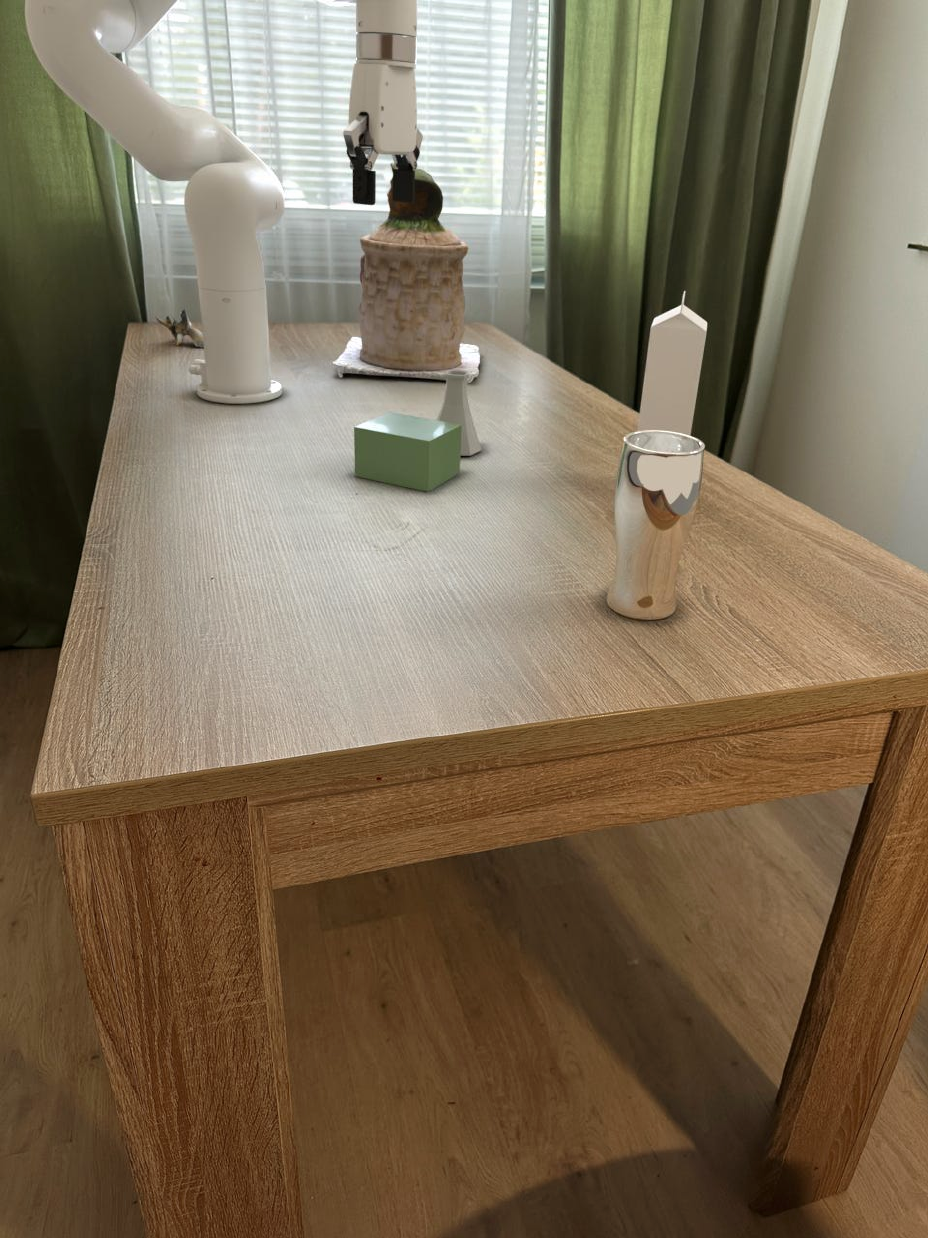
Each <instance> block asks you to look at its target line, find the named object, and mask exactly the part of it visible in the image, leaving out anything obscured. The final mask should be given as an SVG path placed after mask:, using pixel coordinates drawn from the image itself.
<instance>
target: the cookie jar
mask: <svg viewBox="0 0 928 1238" xmlns="http://www.w3.org/2000/svg"><path fill="white" fill-rule="evenodd" d="M389 165H390V167H391V171H392V173H393V169H397V168H396V165H395V163H394V162H391V163H390V164H389ZM414 171H415V190H414V202H412V203H408V202H398V201H394V200H393V176H392V178H391V179H390V181H389V183H390V188H389V190H388V192H387V193H386V196H387V203H388V206H389V212H388V216H387V218H386V220H385V221H384V222H382V223H381V224H380V225H379V226H378V227H377V228H376V229H375V230H374V231H373V232H372V233H371V234H366V235H364V236H362V237H361V238H360V239H359V242H360V248H361V250H362V252H363V254H362V255H361V257H360V261H359V262H360V265H359V266H360V273H359V281H360V284H361V294H360V295H361V297H360V303H359V307H358V317H357V318H358V323H359V324H358V326H359V331H360V337H357V336H352V337H351V338H350V340H349V341H348V342H347V344H346V347H345V349H344V351H343V352H341V354H340V355H339V356H338V358H336V359H335V360H333V361H332V365H333V366H334V368H335V369H336V371H337V375H338V377H339V378H340V379H341V378H343V377H344V375H343V374H357V375H367V376H380V377H381V376H383V377H400V378H401V377H402V378H415V379H417V378H418V379H430V380H437V381H446V377H445V374H444V372H445V371H447V370H463V371H468V372H469V378H467V384H471V383H472V382H473V380H474V378H478V376H479V374H480V370H479V365H480V364H481V358H482V357H481V355H480V347H478V346H477V345H474V344H467V343H461V342H462V340H463V337H464V333H465V322H466V316H465V311H466V296H465V292H464V282H463V275H464V261H463V260H464V258H465V257H466V256H467V254H468V251H469V245H468V244H467V243H465V242H464V241H462V240H461V239H460V237H458V236H457V235H456V234H455V233H454V232H453V231H452V230H449V229H448V228H445V227H444V225H442V223H441V221H440V220H439V218H440V215H441V214H442V211H443V207H444V205H443V204H444V196H443V191H442V189H441V187H440V186H439V184H438V183H436V181H435V180H434V177H433V176H432V175H431V174H430V173H428V172H427V171H425V170H423V169H421V168H417V169H416V170H414Z"/></svg>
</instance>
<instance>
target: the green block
mask: <svg viewBox="0 0 928 1238" xmlns="http://www.w3.org/2000/svg"><path fill="white" fill-rule="evenodd" d="M461 431H462V425H459V424H454V423H448V422H443V421H437V419H431V418H426V417H421V416H415V415H409V414H403V413H398V412H392V411H388V412H386V413H383V414H381V415H378V416H377V417H374V418H372V419H369V420H367V421H364V422H362V423H360V424H358V425H355V426H354V427H353V432H354V433H353V438H354V439H353V440H354V441H353V446H354V451H353V452H354V477H357V478H361V479H362V478H363V479H365V480H371V481H376V482H381V483H384V484H389V485H394V486H399V487H404V488H408V489H413V490H417V491H422V492H426V493H429V492H431V491H432V490H434V489H435V488H438V487H439V486H440V485H442V484H444V483H445V482H447V481H449V480H451V479H453V478H454V477H456V476H457V475H459V474H460V473H461Z"/></svg>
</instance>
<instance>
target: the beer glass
mask: <svg viewBox="0 0 928 1238" xmlns="http://www.w3.org/2000/svg"><path fill="white" fill-rule="evenodd" d="M705 448H706V444H705V443H704V442H703V440H700V439H699V438H697V437H696V436H692V435H686V434H682V433H678V432H672V431H663V430H642V431H638V430H636V431H632V432H629V433H626V434H625V435H624V437H623V444H622V449H621V453H620V457H619V463H618V467H617V473H616V480H615V487H614V496H613V497H614V498H613V520H614V535H615V536H614V537H615V566H614V567H615V568H614V573H613V577H612V579H611V583H610V586H609V588H608V591H607V595H606V604H607V606H608V607H609V608H610V609H611V610H612V611H613V612H615V613H617V614H618V615H620V616H622V617H626V618H630V619H634V620H635V619H636V620H640V621H657V620H662V619H663V620H664V619H665V618H668V617H670V616H671V615H673V614H674V612H675V611H676V608H677V595H676V594H677V593H676V580H677V573H678V567H679V564H680V560H681V557H682V555H683V551H684V549H685V546H686V543H687V540H688V538H689V536H690V532H691V529H692V526H693V523H694V520H695V516H696V514H697V513H696V512H697V510H698V505H699V500H700V496H701V489H702V481H703V480H702V479H703V469H704V454H705Z"/></svg>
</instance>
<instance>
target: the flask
mask: <svg viewBox="0 0 928 1238" xmlns="http://www.w3.org/2000/svg"><path fill="white" fill-rule="evenodd" d="M444 374H445V377H446V380H445V384H446V385H445V392H444V396H443V402H442V403H441V407H440V410H439V412H438V414H437V415H438V416H437V418H436V420H437V421H443V422H448V423H454V424H459V425H462V431H461V456H469V457H470V456H473V455H475V454H476V453H480V451H482V448H481V447H482V446H481V443H480V440H479V437H478V433H477V431H476V427H475V423H474V420H473V416H472V412H471V409H470V405H469V398H468V391H467V388H468V386H467V385H468V383H467V378H469V372H468V371H463V370H447V371H445V372H444ZM461 456H460V457H461Z"/></svg>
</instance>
